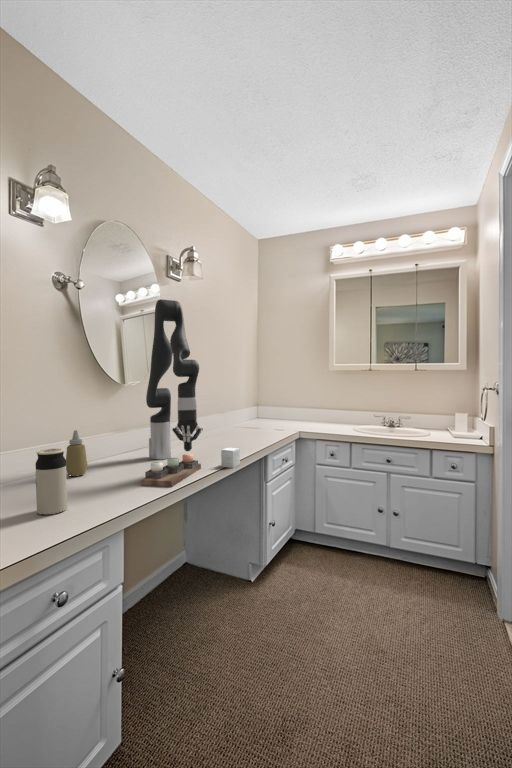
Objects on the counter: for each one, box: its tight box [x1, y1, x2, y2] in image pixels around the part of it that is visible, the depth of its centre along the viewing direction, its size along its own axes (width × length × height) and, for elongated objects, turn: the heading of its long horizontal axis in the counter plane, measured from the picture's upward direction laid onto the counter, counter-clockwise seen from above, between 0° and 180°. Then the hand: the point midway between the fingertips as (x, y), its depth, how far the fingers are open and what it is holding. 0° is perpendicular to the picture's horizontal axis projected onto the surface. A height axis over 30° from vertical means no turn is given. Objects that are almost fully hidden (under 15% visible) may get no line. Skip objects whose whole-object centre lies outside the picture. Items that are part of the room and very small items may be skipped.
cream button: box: [150, 461, 164, 472], centre depth 149 cm, size 4×4×3 cm
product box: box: [220, 447, 241, 469], centre depth 173 cm, size 6×6×7 cm
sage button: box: [166, 457, 180, 468], centre depth 157 cm, size 4×4×3 cm
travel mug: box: [35, 447, 68, 515], centre depth 118 cm, size 8×8×18 cm
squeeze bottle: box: [65, 429, 88, 476], centre depth 160 cm, size 8×8×18 cm
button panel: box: [140, 459, 202, 488], centre depth 157 cm, size 12×28×4 cm, turn 166°
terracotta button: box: [181, 453, 194, 463], centre depth 164 cm, size 4×4×3 cm
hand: (188, 450), depth 163 cm, fingers closed
